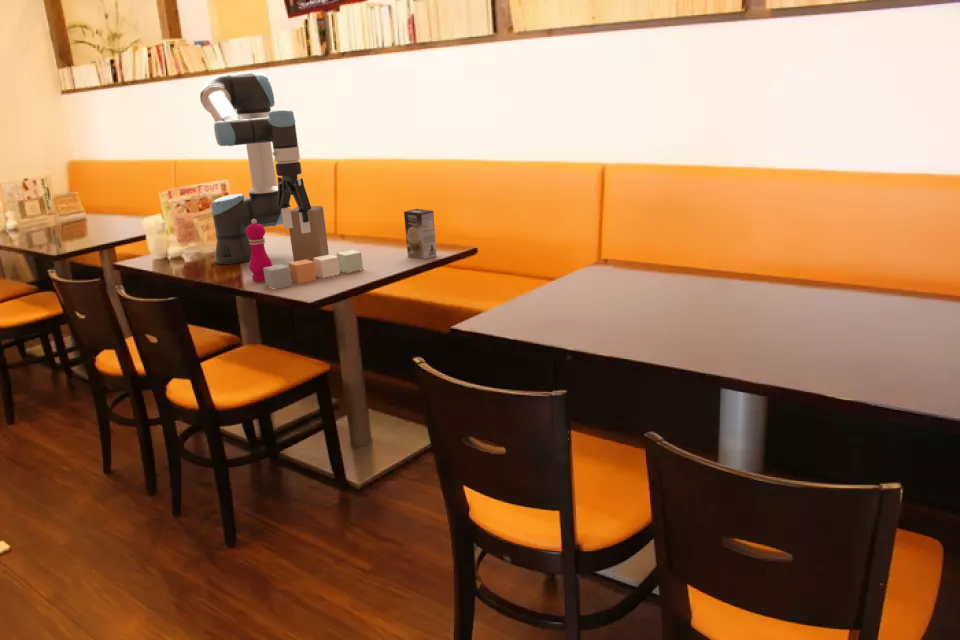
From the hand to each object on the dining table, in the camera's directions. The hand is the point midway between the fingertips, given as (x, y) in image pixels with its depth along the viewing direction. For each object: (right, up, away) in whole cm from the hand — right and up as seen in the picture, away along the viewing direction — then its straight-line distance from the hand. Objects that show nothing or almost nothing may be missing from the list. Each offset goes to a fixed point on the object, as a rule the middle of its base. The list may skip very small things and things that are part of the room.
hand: (297, 230), depth 242 cm
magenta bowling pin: (-14, -15, +10) cm, 22 cm away
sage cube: (+14, -12, +15) cm, 24 cm away
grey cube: (-6, -17, +1) cm, 18 cm away
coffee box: (+37, -6, +28) cm, 47 cm away
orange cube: (+1, -15, +5) cm, 16 cm away
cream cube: (+8, -13, +10) cm, 18 cm away
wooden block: (-1, -10, +25) cm, 26 cm away
